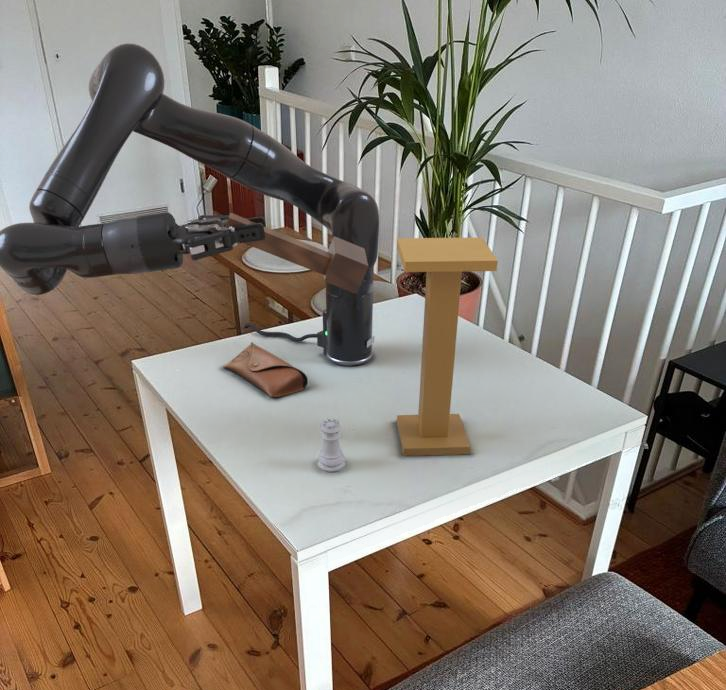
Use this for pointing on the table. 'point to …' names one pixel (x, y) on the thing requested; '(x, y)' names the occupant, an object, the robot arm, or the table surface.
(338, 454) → the rook chess piece
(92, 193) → the robot arm
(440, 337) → the pedestal
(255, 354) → the sunglasses case
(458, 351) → the table surface
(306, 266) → the walnut mallet
